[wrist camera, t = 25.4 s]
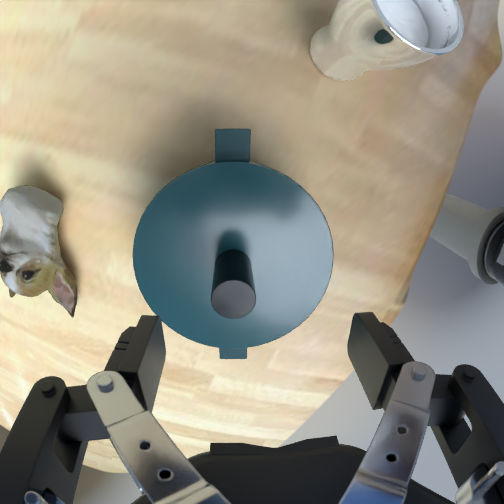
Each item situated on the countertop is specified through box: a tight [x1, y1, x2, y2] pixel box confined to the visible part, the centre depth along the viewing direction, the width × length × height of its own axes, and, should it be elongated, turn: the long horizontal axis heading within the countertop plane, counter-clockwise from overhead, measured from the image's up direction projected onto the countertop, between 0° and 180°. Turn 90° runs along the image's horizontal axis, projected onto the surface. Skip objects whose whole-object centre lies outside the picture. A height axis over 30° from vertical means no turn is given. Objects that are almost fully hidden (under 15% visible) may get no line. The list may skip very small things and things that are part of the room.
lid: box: [133, 161, 333, 349], centre depth 21 cm, size 15×15×6 cm
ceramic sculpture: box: [0, 185, 77, 317], centre depth 26 cm, size 11×9×15 cm
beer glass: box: [310, 0, 464, 81], centre depth 18 cm, size 7×7×15 cm
